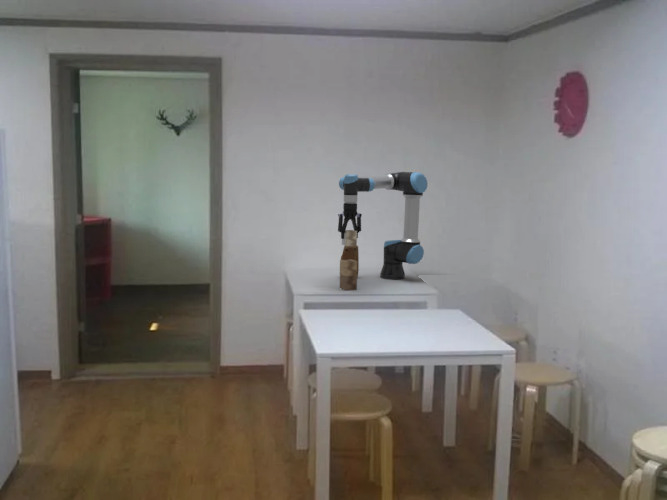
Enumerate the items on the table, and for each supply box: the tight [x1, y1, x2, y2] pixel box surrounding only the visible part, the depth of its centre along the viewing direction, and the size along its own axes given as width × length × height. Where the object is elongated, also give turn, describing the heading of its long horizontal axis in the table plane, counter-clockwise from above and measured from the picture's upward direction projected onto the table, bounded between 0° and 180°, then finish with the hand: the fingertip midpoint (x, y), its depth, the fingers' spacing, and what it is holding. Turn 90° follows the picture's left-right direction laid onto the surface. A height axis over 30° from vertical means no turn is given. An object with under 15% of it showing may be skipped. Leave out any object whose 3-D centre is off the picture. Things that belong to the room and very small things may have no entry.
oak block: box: [339, 259, 357, 276], centre depth 402 cm, size 7×7×8 cm
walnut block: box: [339, 273, 358, 291], centre depth 403 cm, size 7×7×8 cm
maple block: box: [344, 229, 358, 246], centre depth 399 cm, size 6×6×8 cm
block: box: [340, 245, 360, 278], centre depth 438 cm, size 11×8×20 cm
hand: (349, 244), depth 400 cm, fingers closed on maple block, 6 cm apart
